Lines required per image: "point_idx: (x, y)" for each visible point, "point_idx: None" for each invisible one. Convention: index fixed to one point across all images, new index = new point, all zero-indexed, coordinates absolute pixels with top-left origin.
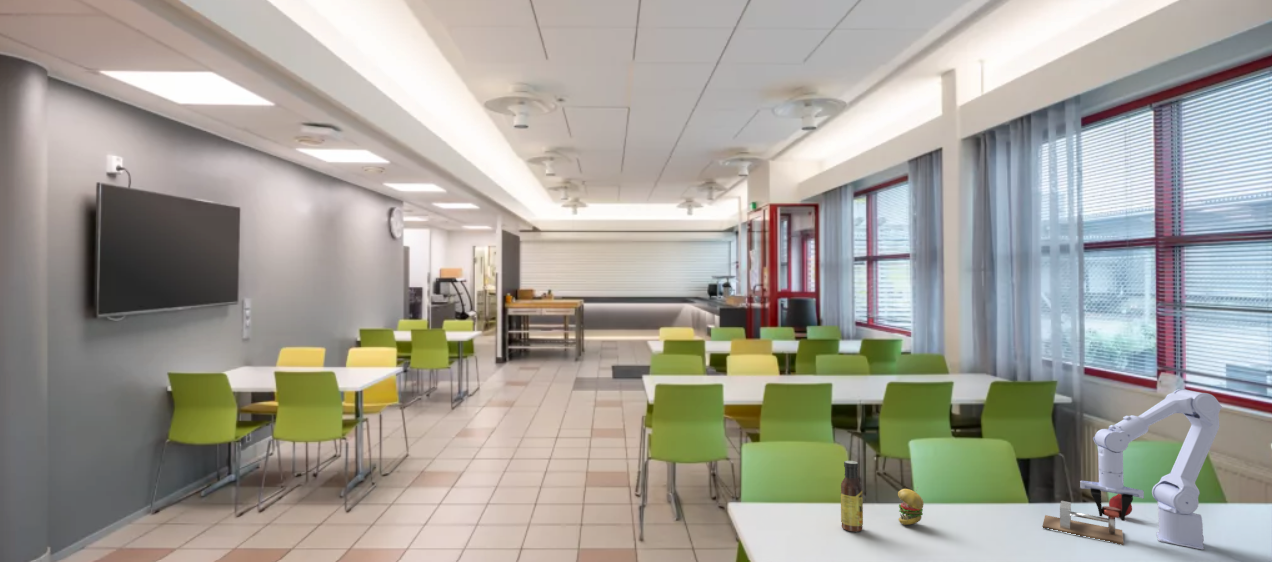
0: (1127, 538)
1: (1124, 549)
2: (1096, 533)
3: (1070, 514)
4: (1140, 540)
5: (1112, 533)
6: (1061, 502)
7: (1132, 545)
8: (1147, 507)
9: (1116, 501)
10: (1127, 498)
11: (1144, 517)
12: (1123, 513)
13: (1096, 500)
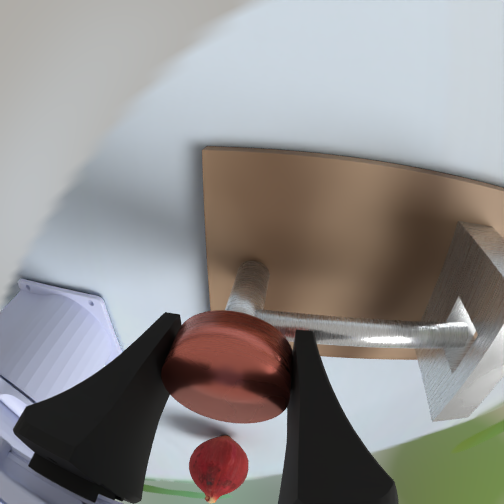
0: (194, 275)
1: (204, 73)
2: (334, 229)
3: (460, 323)
4: (149, 277)
5: (251, 261)
6: (484, 396)
7: (169, 178)
8: (184, 471)
9: (224, 477)
10: (31, 437)
11: (179, 443)
12: (145, 345)
13: (342, 437)
